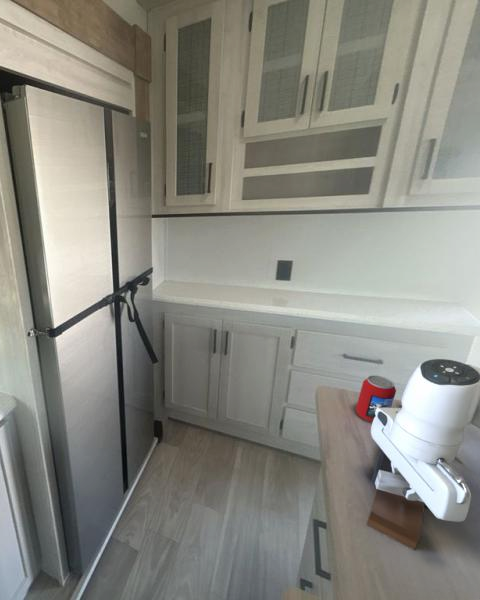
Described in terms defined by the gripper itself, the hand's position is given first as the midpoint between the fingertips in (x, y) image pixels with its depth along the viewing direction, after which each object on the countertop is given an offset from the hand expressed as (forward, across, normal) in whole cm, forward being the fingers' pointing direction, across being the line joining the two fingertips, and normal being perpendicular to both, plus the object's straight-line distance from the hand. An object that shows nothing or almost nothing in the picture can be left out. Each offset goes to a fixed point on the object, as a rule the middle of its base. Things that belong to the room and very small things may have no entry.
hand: (403, 489), depth 68 cm
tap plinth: (+5, -2, +2) cm, 6 cm away
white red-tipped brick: (+1, 0, 0) cm, 1 cm away
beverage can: (+6, +28, -10) cm, 30 cm away
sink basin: (+5, +8, -6) cm, 12 cm away
